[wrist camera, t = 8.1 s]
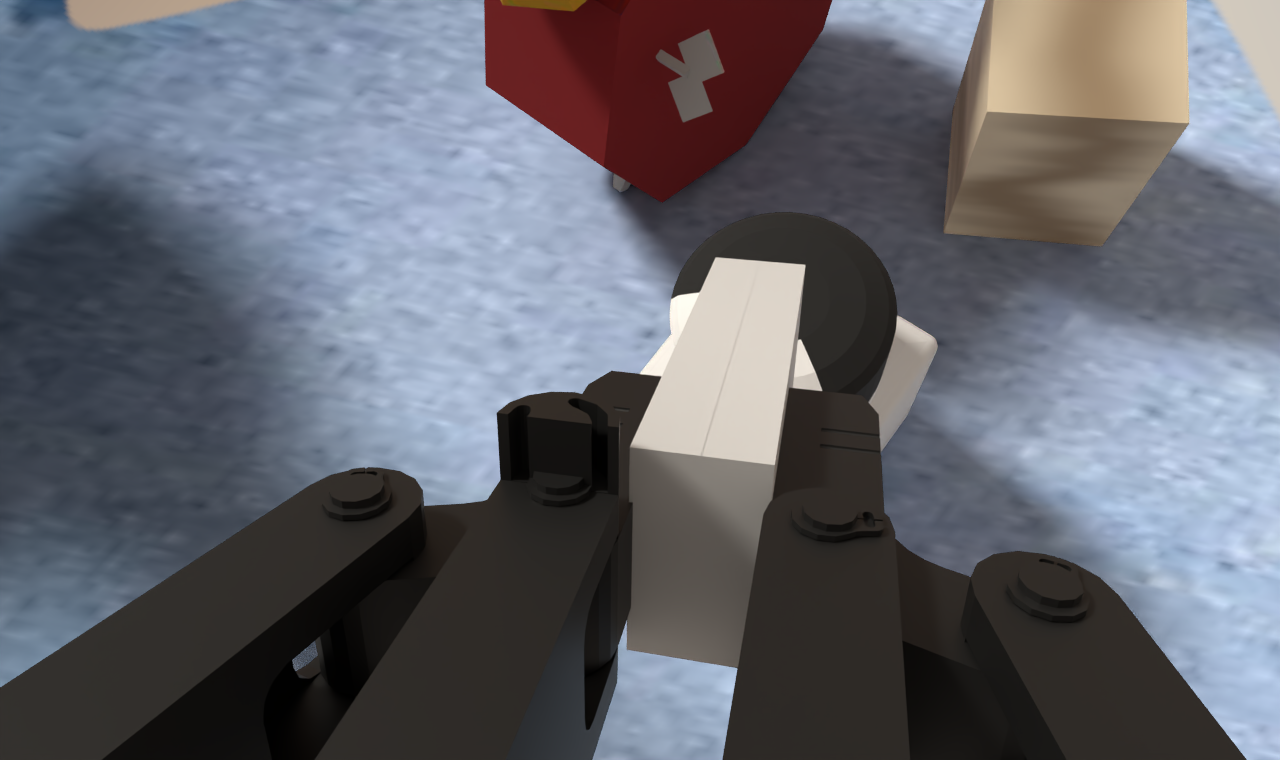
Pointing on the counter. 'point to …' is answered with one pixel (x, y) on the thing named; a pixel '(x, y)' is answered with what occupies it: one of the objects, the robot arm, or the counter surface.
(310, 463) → the counter surface
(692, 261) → the medicine bottle
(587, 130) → the alarm clock
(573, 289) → the counter surface
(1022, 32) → the beech block
